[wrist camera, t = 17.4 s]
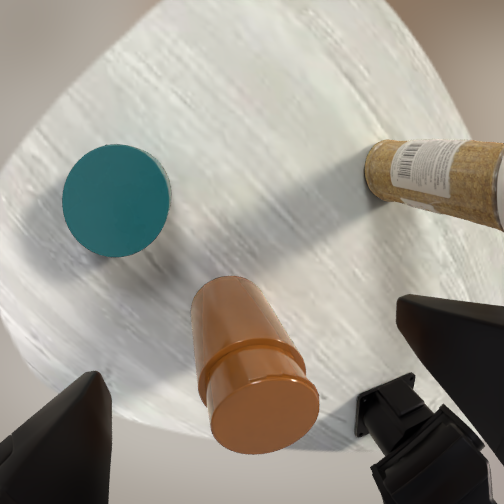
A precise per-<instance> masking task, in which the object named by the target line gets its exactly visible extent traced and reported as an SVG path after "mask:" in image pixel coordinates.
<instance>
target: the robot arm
mask: <svg viewBox="0 0 504 504" xmlns="http://www.w3.org/2000/svg"><path fill="white" fill-rule="evenodd" d="M396 324H397V327H398V329H399V331H400V332H401V334H402V335H403V336H404V338H405V339H406V341H407V342H408V344H409V345H410V347H411V348H412V350H413V351H414V353H415V354H416V356H417V357H418V358H419V360H420V361H421V362H422V364H423V365H424V366H425V367H426V369H427V370H428V371H429V372H430V373H431V375H432V376H433V377H434V378H435V379H436V380H437V382H438V383H439V384H440V385H441V387H442V388H443V389H444V390H445V391H446V393H447V394H448V395H449V396H450V397H451V399H452V400H453V401H454V402H455V404H456V405H457V406H458V407H459V409H460V410H461V411H462V412H463V414H464V415H465V416H466V417H467V419H468V420H469V421H470V422H471V424H472V425H473V426H474V427H475V429H476V430H477V431H478V433H479V434H480V435H481V436H482V438H483V439H484V440H485V442H486V443H487V444H488V445H489V447H490V448H491V449H492V451H493V452H494V453H495V455H496V456H497V458H498V459H499V460H500V462H501V463H502V464H503V466H504V306H497V305H489V304H481V303H473V302H465V301H457V300H450V299H442V298H435V297H427V296H420V295H413V294H407V295H405V296H402V297H399V298H398V300H397V307H396ZM414 382H415V375H414V374H413V373H412V372H411V373H408V374H406V375H404V376H402V377H400V378H397V379H395V380H393V381H391V382H388V383H386V384H383V385H381V386H379V387H376V388H374V389H371V390H369V391H366V392H364V393H362V394H360V395H359V396H358V400H357V416H356V428H355V435H356V436H357V437H362V436H364V435H367V434H370V435H371V436H372V438H373V439H374V441H375V442H376V444H377V445H378V446H379V448H380V449H381V451H382V452H383V454H384V455H385V457H384V458H383V459H382V460H380V461H379V462H378V463H377V464H374V465H373V466H371V467H370V468H371V470H372V473H373V474H372V476H373V478H374V480H375V482H376V484H377V486H378V489H379V491H380V493H381V495H382V499H383V503H384V504H497V503H496V502H495V500H494V499H493V494H492V481H491V470H490V465H489V462H488V460H487V459H486V458H485V457H484V456H483V454H482V453H481V452H480V451H481V450H482V449H483V448H484V447H485V445H484V443H483V442H482V441H481V440H480V438H479V437H478V436H477V435H476V434H475V433H474V432H473V431H472V430H471V428H469V427H468V426H467V425H466V424H465V423H464V422H463V421H462V420H461V419H460V418H459V417H458V416H457V415H455V414H454V413H453V412H452V411H451V410H450V409H449V408H448V407H447V406H445V405H444V404H442V405H441V406H440V407H439V408H440V409H439V410H438V411H436V412H435V413H433V412H432V411H431V410H430V409H429V408H428V407H427V406H426V404H425V403H424V401H423V400H422V399H421V398H420V397H419V395H418V394H417V393H416V392H415V391H414V390H413V387H414ZM111 451H112V398H111V394H110V392H109V390H108V388H107V386H106V384H105V382H104V379H103V377H102V375H101V374H100V373H99V372H98V371H91V372H85V373H84V374H83V375H81V376H80V377H79V378H78V379H77V380H75V381H74V382H73V383H72V384H71V385H69V386H68V387H67V388H66V389H64V390H63V391H62V392H61V393H60V394H58V395H57V396H56V397H55V398H54V399H52V400H51V401H50V402H49V403H48V404H46V405H45V406H44V407H43V408H42V409H40V410H39V411H38V412H37V413H36V414H34V415H33V416H32V417H31V418H30V419H28V420H27V421H26V422H25V423H24V424H22V425H21V426H20V427H19V428H18V429H17V430H15V431H14V432H13V433H12V435H9V436H8V437H7V438H6V439H4V440H3V441H2V442H1V443H0V504H108V499H109V497H108V496H109V479H110V464H111Z"/></svg>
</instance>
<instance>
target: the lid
mask: <svg viewBox="0 0 504 504" xmlns="http://www.w3.org/2000/svg"><path fill="white" fill-rule="evenodd" d="M170 204H171V186H170V182H169V178H168V176H167V173H166V171H165V170H164V168H163V167H162V165H161V164H160V163H159V162H158V160H157V159H156V158H154V157H153V156H152V155H151V154H149V153H147V152H145V151H143V150H141V149H138V148H135V147H131V146H127V145H120V144H114V145H105V146H102V147H99V148H96V149H94V150H92V151H90V152H89V153H87V154H86V155H84V156H83V157H82V158H81V159H80V160H79V161H78V162H77V163H76V164H75V165H74V167H73V168H72V170H71V171H70V173H69V175H68V177H67V179H66V182H65V185H64V190H63V197H62V207H63V214H64V217H65V221H66V223H67V226H68V228H69V230H70V231H71V233H72V234H73V236H74V237H75V238H76V240H77V241H78V242H79V243H80V244H81V245H83V246H84V247H85V248H87V249H88V250H90V251H92V252H94V253H96V254H99V255H102V256H106V257H124V256H129V255H132V254H135V253H137V252H139V251H141V250H143V249H144V248H146V247H147V246H148V245H150V244H151V243H152V242H153V241H154V240H155V239H156V237H157V236H158V235H159V233H160V232H161V230H162V228H163V226H164V224H165V222H166V219H167V215H168V212H169V208H170Z"/></svg>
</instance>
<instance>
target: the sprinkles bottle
mask: <svg viewBox="0 0 504 504" xmlns="http://www.w3.org/2000/svg"><path fill="white" fill-rule="evenodd" d="M365 177H366V181H367V184H368V187H369V189H370V190H371V191H372V193H373V194H374V195H376V196H377V197H379V198H380V199H382V200H384V201H388V202H394V201H395V202H400V203H404V204H407V205H409V206H411V207H415V208H419V209H423V210H427V211H431V212H434V213H438V214H446V215H450V216H454V217H457V218H461V219H464V220H468V221H471V222H474V223H477V224H481V225H485V226H488V227H492V228H496V229H498V230H501V231H502V232H504V143H495V142H480V141H474V140H447V139H424V140H410V141H395V140H383V141H381V142H379V143H377V144H376V145H374V147H373V148H372V149H371V150H370V152H369V154H368V155H367V158H366V163H365Z"/></svg>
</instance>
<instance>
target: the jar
mask: <svg viewBox="0 0 504 504" xmlns="http://www.w3.org/2000/svg"><path fill="white" fill-rule="evenodd" d="M191 323H192V335H193V345H194V356H195V365H196V374H197V383H198V391H199V395H200V398H201V400H202V402H203V403H204V405H205V406H206V407H207V408H208V415H209V421H210V427H211V431H212V434H213V436H214V438H215V439H216V440H217V441H218V442H219V443H220V444H221V445H222V446H223V447H225V448H227V449H229V450H231V451H234V452H237V453H241V454H253V455H254V454H265V453H270V452H274V451H277V450H280V449H283V448H285V447H287V446H289V445H291V444H293V443H295V442H296V441H298V440H299V439H300V438H302V437H303V436H304V435H305V434H306V433H307V432H308V431H309V430H310V429H311V427H312V426H313V425H314V423H315V421H316V419H317V416H318V413H319V394H318V392H317V389H316V387H315V385H314V384H313V383H311V382H310V381H309V380H308V379H307V378H306V367H305V363H304V360H303V358H302V356H301V355H300V353H299V351H298V350H297V348H296V347H295V345H294V343H293V342H292V340H291V339H290V337H289V335H288V334H287V332H286V330H285V329H284V327H283V326H282V324H281V322H280V321H279V319H278V317H277V316H276V314H275V313H274V311H273V309H272V308H271V306H270V304H269V303H268V301H267V300H266V298H265V296H264V295H263V293H262V291H261V290H260V289H259V288H258V287H257V286H256V285H255V284H254V283H253V282H251V281H249V280H247V279H245V278H242V277H238V276H224V277H220V278H216V279H214V280H212V281H210V282H208V283H207V284H205V285H204V286H203V287H202V288H201V289H200V290H199V291H198V292H197V294H196V295H195V297H194V299H193V302H192V305H191Z"/></svg>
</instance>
